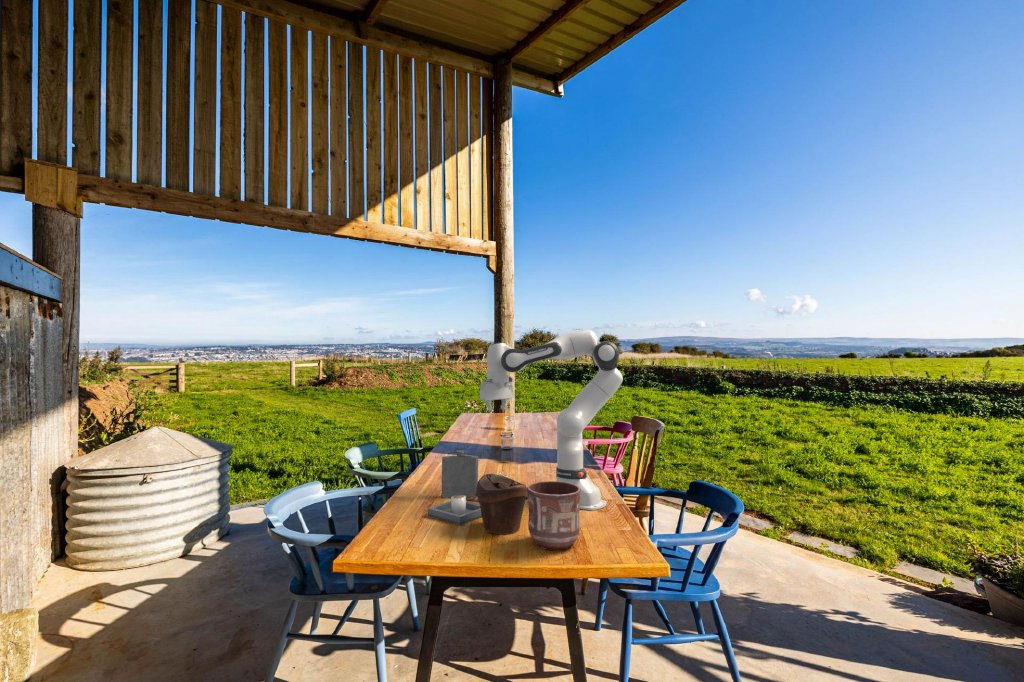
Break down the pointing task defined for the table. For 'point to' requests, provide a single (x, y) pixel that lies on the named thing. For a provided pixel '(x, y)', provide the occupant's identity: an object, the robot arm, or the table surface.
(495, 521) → the brown lidded tumbler
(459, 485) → the hip flask
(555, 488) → the pottery
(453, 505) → the cup
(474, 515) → the tray
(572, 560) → the table surface
